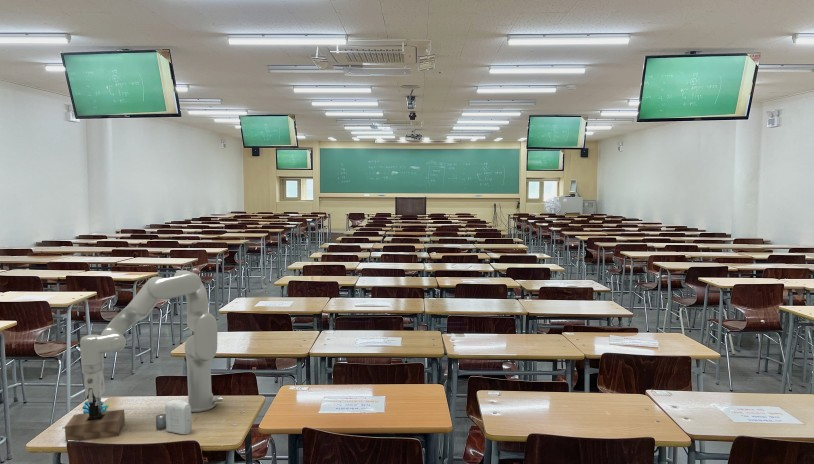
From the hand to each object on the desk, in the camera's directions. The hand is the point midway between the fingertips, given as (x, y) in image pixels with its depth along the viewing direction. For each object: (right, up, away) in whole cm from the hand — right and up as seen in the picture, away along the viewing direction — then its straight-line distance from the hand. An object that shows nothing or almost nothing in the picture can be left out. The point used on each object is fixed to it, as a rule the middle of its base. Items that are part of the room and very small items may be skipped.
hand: (95, 413), depth 222 cm
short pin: (+24, -7, +4) cm, 25 cm away
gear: (-8, -7, +16) cm, 19 cm away
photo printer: (+32, -7, 0) cm, 33 cm away
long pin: (0, -2, 0) cm, 2 cm away
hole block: (0, -8, 0) cm, 8 cm away
